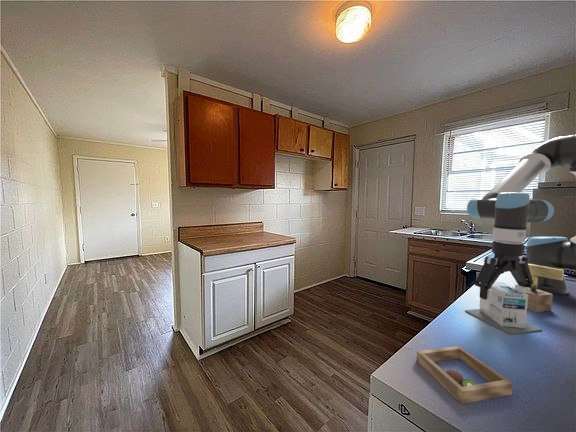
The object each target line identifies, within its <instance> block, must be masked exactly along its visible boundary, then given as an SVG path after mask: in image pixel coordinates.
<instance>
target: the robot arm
mask: <svg viewBox="0 0 576 432" xmlns="http://www.w3.org/2000/svg"><path fill="white" fill-rule="evenodd" d="M562 167H568V168H569V170H568V171H569V173H571V174H572V175H574V176H575V177H576V134H569V135H565V136H558V137H554V138H552V139H549V140H546V141H544V142H543V143H541V144H539V145H537V146H534V148H532V149H531V150H529V151H527V152H526V153H525V154H523V156H522V157H521V158H520V159H519V162H518V164H517V165H516V166H515V167H514V168H513V169H511V171H510V172H509V173H508V174H507V175H505V177H504V178H503V177H502V179H501V180H500V181H499V182H497V184H496V185H495V186H494V187H492V189H490V190H489V191H488V192H487V193H486V194H485V195H484V196H483V197H481V198H480V197H477V198H472V199H470V200H469V201H468V203H467V204H466V205H467V206H466V211H467V214H468V216H470V217H472V218H475V219H482V220H483V219H485V220H494V222H493V227H492V228H493V229H492V239H493V241H492V243H491V252H492V253H493V254H494V256H493V257H490V256H486V257H484V262H483V265H482V267H481V269H480V271H479V273H478V275H477V277H476V279H475V281H474V284H473V285H474V286H476V287H479V305H478V306H479V308H480V307H481V308H483V309H485V310H488V311H490V304H491V293H492V290H490V287H491V286H492V285H493V284H494V282H497V280H498V278H499V277H500V276H501V274H502V275H503V274H504V273H507V272H510V274H511V275H512V277H513V279H514V280H515V282H516V283H517V284H514V288H515V289H518V290H520V291H522V292H524V293H526V290H527V287H528V288H531V287H532V284H533V279H532V275H531V273H530V269H529V266H528V264H534V265H539V266H545V267H551V268H557V269H563V270H564V271H565V270H567V271H573V272H576V235H575V236H573V237H570V239H568V237H565V236H531V237H529V238H528V239H527V240H528V241H527V243H526V245H525V244H524V243H525V242H526V235H527V234H526V233H527V224H528V223H535V224H538V223H542V222H543V223H544V222H547V221H548V220H550V219H551V218H552V217H553V216H554V213H555V208H554V206H553V205H552V203H551V202H549V201H547V200H545V199H539V198H533V199H532V198H530V195H529V193H527V192H523V191H524V190H525V189H526V188H527V187H528V186H529V185H530V184H531V183H532V182H533V181H535V179H536V178H537V177H538V176H540V175H541V174H545V173H546V172H548V171H549V170H550V169H555V168H562ZM525 246H526V247H525ZM525 248H526V253H525ZM486 284H487V285H486ZM537 289H538V290H541V291H544V292H548V293H551V294H553V295H567V294H568V292H569V287H568V283H567V280H566V277H565V275H564V274H563V280H562V281H561V280H556V279H551V278H546V277H540V276H538V282H537Z"/></svg>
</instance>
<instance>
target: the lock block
mask: <svg viewBox="0 0 576 432" xmlns="http://www.w3.org/2000/svg"><path fill="white" fill-rule="evenodd" d="M526 294H528V304H527V310H528V311H529V310H530V311H532V312H535V313H539V312H541V313H542V312H549V311H550V312H551V311H552V309H553V307H552V305H553V297H554V294H551V293H548V292H544V291H541V290H538V289H537V290H531V289H530V288H528V287H527V290H526Z"/></svg>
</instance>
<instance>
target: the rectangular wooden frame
mask: <svg viewBox="0 0 576 432" xmlns="http://www.w3.org/2000/svg"><path fill="white" fill-rule="evenodd" d="M456 359H458V360H460V361H461V362H463V364H465V365H466V366H468V367H469V368H471V369H472V370H473V371H475V373H477V374H479V376H481V377H482V378H484V379H485V380H487V381H488V382H482V383H476V385H470V386H464V387H462V384H461V385H459V384H458V383H457V382H456V381H455V380H454V379H453V378H451V377H450V376H449V375H448V374H447V373H446V371H445V370H443V368H442V367H440V366H439V365H438V364H436V362H442V361H450V360H456ZM415 361H416V362H417V364H419V365H420V366H421V367H422V368H423V369H424V370H425V371H426V372H427V373H428V374H429V375H431V376H432V377H433V379H434V380H435V381H436V382H438V384H440V385H441V386H442V387H443V388H444V389H445V390H447V392H448V393H449V394H450V395H452V396H453V397H454V398H455V399H456V401H458V402H459V403H460V404H461V405H462V404H469V403H474V402H480V401H486V400H490V399H495V398H501V396H502V397H506V396H507V395H508V396H512V394H513V384H514V382H512V381H511V380H509V379H508V378H506V377H505V376H504V375H502V374H501V373H499V372H497V371H496V370H495V369H493V368H492V367H490V365H488V364H486V363H485V362H483V361H481V360H480V359H479V358H478V357H476V356H474V355H473V354H471V353H470V352H468V351H467V350H466V349H465V348H463V347H462V346H460V345H456V346H454V345H453V346H447V347H440V348H439V347H438V348H433V349H423V350H417V351H416V359H415ZM489 381H490V382H489ZM508 396H507V397H508Z"/></svg>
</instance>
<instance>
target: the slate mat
mask: <svg viewBox="0 0 576 432" xmlns="http://www.w3.org/2000/svg"><path fill="white" fill-rule="evenodd" d="M464 311H465V313H467V314H470V315H471V316H472V317H475V318H477V319H478V320H481V321H482V322H485V323H487V324H488V325H491V326H492V327H494V328H495V329H498V330H500V331H502V332H504V333H506V334H507V335H518V334H519V335H521V334H526V333H528V334H529V333H535V332H536V333H537V332H542V331H543V329H542V328H540V327H538V326H536V325H533V324H531V323H529V322H527V321H526V326H525V328H516V327H506V326H500V325H499V324H498V323H496V322H495V321H494V320H492V319H491V318H490V317H488V316H487V315H486V314H484V313H483V312H482V311H480V308H474V309H465V310H464Z"/></svg>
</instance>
